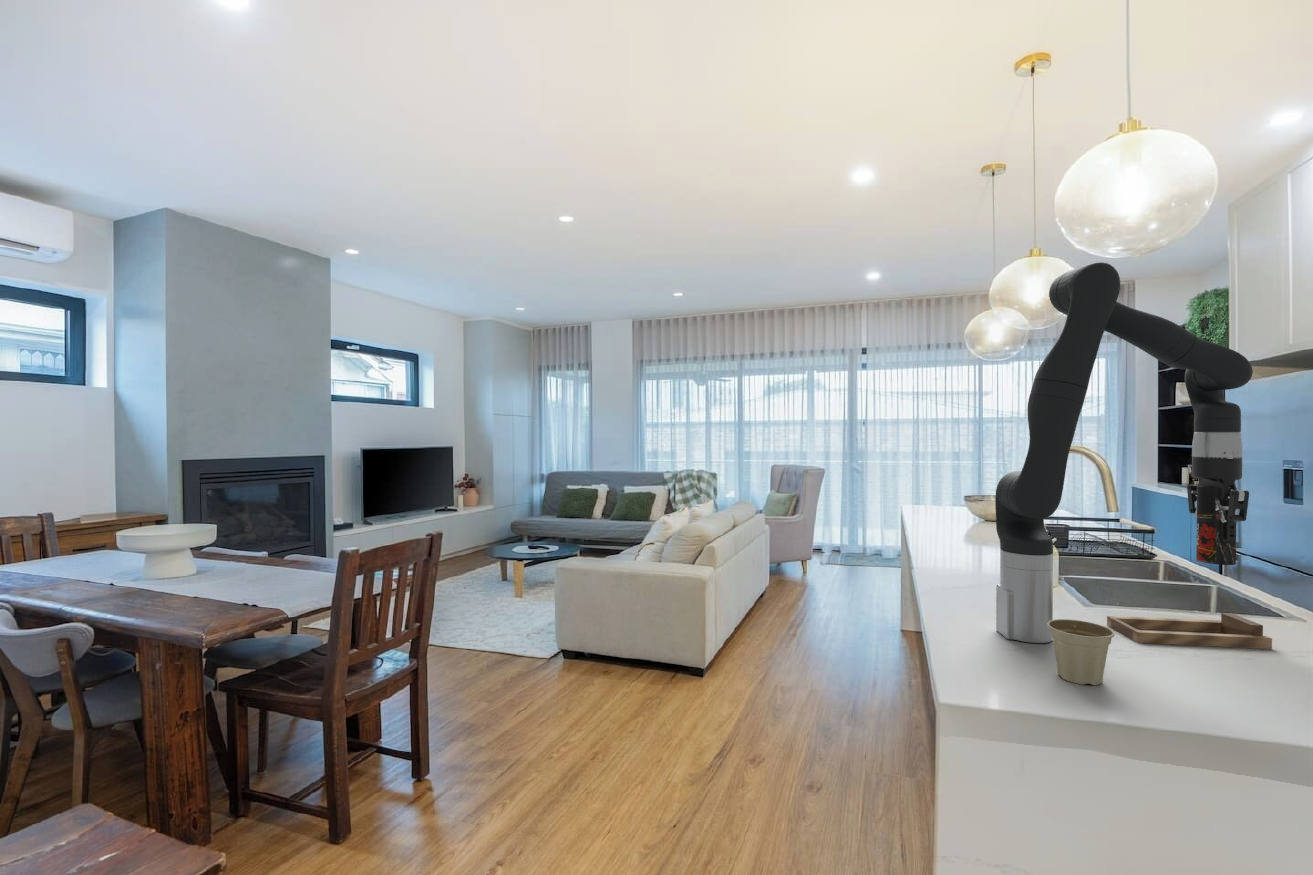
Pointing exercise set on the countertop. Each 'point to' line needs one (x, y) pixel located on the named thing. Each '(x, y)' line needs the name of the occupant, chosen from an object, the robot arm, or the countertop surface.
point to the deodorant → (1212, 530)
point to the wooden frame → (1231, 625)
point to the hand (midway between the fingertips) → (1215, 538)
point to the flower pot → (1080, 650)
